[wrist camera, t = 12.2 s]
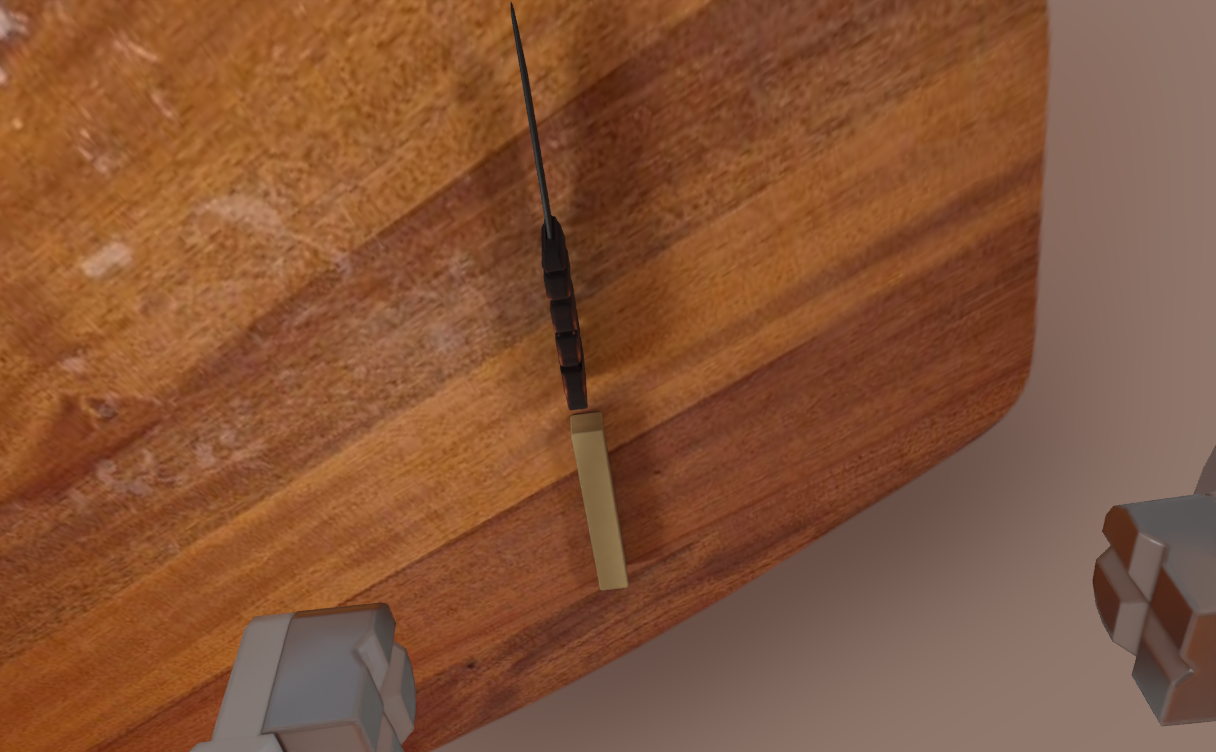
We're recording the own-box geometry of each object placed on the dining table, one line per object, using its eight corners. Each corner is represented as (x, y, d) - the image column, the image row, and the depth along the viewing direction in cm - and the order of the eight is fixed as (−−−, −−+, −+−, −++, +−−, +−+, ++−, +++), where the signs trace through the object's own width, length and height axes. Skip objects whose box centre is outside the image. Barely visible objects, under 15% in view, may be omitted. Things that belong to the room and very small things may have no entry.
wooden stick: (601, 410, 45) (602, 430, 44) (626, 566, 51) (628, 587, 50) (569, 414, 45) (570, 434, 44) (598, 570, 51) (600, 591, 50)
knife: (498, -19, 34) (495, 7, 32) (526, -23, 34) (525, 3, 32) (567, 383, 44) (568, 426, 42) (588, 380, 44) (591, 424, 42)
